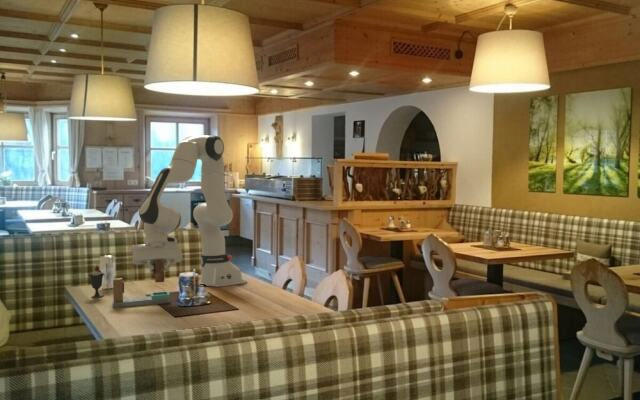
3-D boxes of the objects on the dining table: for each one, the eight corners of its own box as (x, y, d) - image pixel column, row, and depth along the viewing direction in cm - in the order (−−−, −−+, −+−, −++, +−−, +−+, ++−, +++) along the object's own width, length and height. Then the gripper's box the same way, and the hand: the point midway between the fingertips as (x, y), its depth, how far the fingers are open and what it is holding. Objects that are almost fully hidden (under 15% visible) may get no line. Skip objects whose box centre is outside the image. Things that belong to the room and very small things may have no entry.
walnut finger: (163, 280, 244) (163, 259, 243) (164, 282, 240) (164, 260, 240) (153, 281, 242) (153, 259, 242) (154, 282, 239) (154, 260, 238)
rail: (168, 299, 246) (167, 273, 246) (170, 302, 240) (169, 276, 239) (112, 304, 238) (111, 277, 238) (113, 308, 232) (112, 280, 231)
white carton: (112, 289, 270) (111, 257, 270) (98, 289, 270) (96, 257, 270) (118, 286, 277) (117, 255, 277) (103, 286, 277) (102, 255, 277)
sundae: (98, 299, 249) (97, 264, 248) (85, 298, 251) (84, 263, 251) (108, 295, 255) (107, 262, 255) (96, 295, 258) (94, 261, 257)
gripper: (131, 240, 243) (133, 267, 234) (180, 238, 251) (184, 264, 242) (130, 249, 247) (132, 276, 239) (179, 247, 255) (182, 273, 246)
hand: (159, 270), depth 240 cm, fingers closed on walnut finger, 4 cm apart
